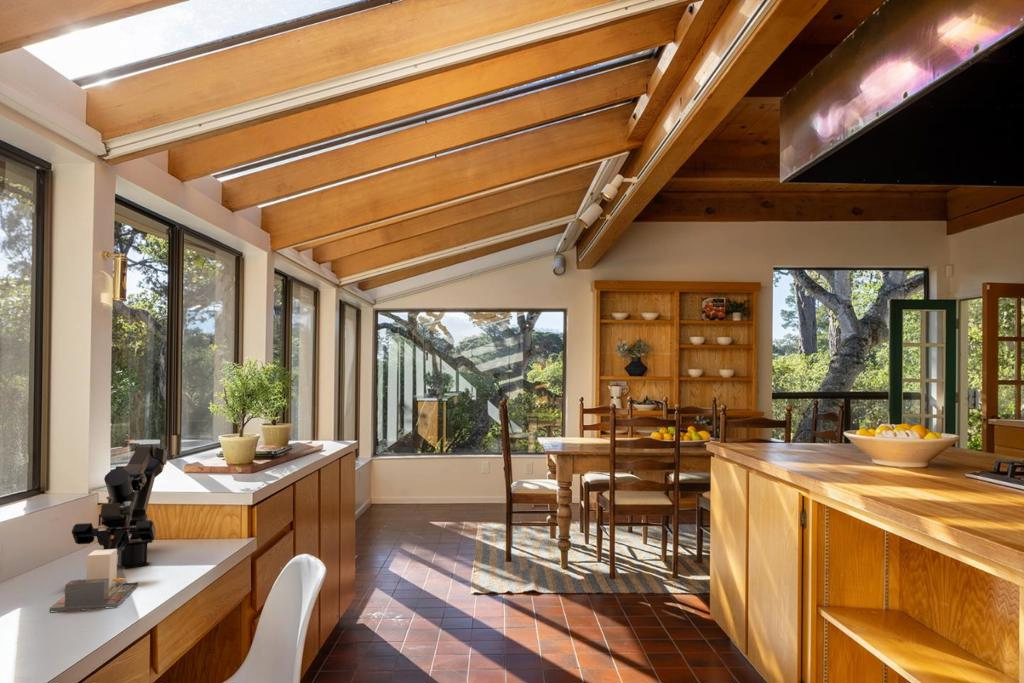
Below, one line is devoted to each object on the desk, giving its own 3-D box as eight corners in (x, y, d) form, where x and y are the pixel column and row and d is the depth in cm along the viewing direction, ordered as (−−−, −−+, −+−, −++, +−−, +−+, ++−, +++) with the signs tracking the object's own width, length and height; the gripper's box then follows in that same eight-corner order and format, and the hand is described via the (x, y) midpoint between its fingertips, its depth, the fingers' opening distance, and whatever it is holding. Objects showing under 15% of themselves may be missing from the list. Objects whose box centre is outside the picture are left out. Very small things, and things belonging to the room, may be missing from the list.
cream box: (82, 587, 176) (84, 550, 176) (126, 584, 178) (128, 548, 179) (74, 594, 170) (75, 556, 170) (120, 591, 172) (121, 553, 173)
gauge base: (76, 590, 177) (77, 566, 178) (138, 586, 181) (138, 562, 181) (49, 612, 160) (50, 585, 160) (117, 607, 164) (118, 581, 164)
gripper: (75, 492, 182) (57, 544, 171) (154, 489, 187) (142, 540, 175) (84, 517, 189) (68, 569, 178) (160, 514, 194) (149, 564, 182)
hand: (107, 560), depth 178 cm, fingers closed
